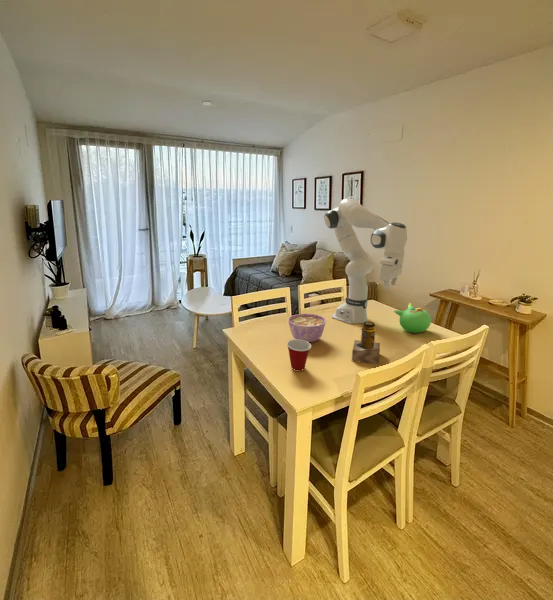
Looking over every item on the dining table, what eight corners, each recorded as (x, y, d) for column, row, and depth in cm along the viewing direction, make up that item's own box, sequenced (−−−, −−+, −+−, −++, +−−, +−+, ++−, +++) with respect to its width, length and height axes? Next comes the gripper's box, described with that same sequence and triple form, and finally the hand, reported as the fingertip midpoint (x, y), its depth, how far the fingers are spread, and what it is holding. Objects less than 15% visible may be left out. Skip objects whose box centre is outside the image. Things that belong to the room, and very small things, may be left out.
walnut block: (351, 361, 157) (352, 349, 155) (353, 350, 168) (354, 339, 166) (378, 365, 153) (379, 353, 152) (378, 354, 164) (379, 343, 163)
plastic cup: (306, 376, 143) (307, 350, 139) (282, 371, 147) (283, 346, 143) (313, 365, 152) (314, 341, 149) (291, 361, 156) (291, 337, 153)
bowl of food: (282, 344, 174) (283, 323, 171) (294, 330, 192) (294, 311, 189) (320, 350, 168) (321, 328, 164) (328, 335, 186) (329, 316, 182)
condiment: (377, 348, 156) (379, 324, 153) (361, 351, 154) (363, 326, 151) (369, 342, 163) (371, 319, 159) (353, 344, 161) (355, 321, 157)
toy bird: (418, 339, 181) (422, 314, 176) (390, 330, 193) (393, 306, 189) (434, 331, 192) (438, 307, 187) (407, 323, 204) (410, 300, 200)
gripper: (394, 254, 167) (390, 281, 171) (379, 260, 151) (375, 289, 155) (407, 256, 163) (403, 283, 167) (393, 262, 147) (389, 292, 152)
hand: (389, 286), depth 161 cm, fingers open, 8 cm apart
